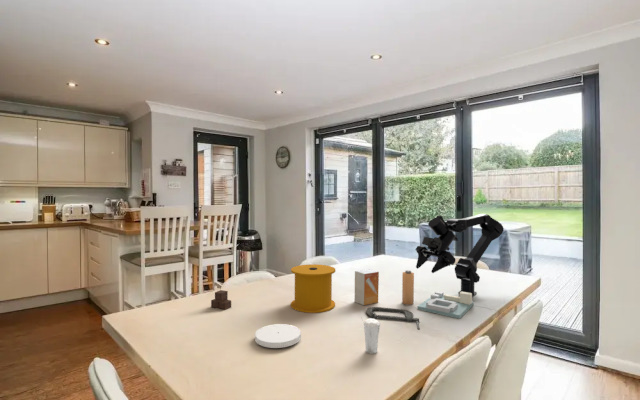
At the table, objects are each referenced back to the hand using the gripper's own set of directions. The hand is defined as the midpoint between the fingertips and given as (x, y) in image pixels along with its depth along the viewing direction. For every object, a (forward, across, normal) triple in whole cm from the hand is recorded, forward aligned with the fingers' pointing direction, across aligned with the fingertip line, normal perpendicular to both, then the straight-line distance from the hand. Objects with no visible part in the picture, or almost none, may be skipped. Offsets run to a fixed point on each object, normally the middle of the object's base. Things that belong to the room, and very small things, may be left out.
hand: (424, 270), depth 142 cm
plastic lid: (+57, +11, -40) cm, 71 cm away
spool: (+41, -14, -24) cm, 49 cm away
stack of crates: (+64, -27, -48) cm, 85 cm away
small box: (+26, -8, -8) cm, 28 cm away
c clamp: (+27, +10, -8) cm, 30 cm away
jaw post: (+15, -1, +3) cm, 15 cm away
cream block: (+2, +9, +15) cm, 18 cm away
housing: (+8, +10, +11) cm, 17 cm away
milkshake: (+42, +29, -25) cm, 57 cm away
